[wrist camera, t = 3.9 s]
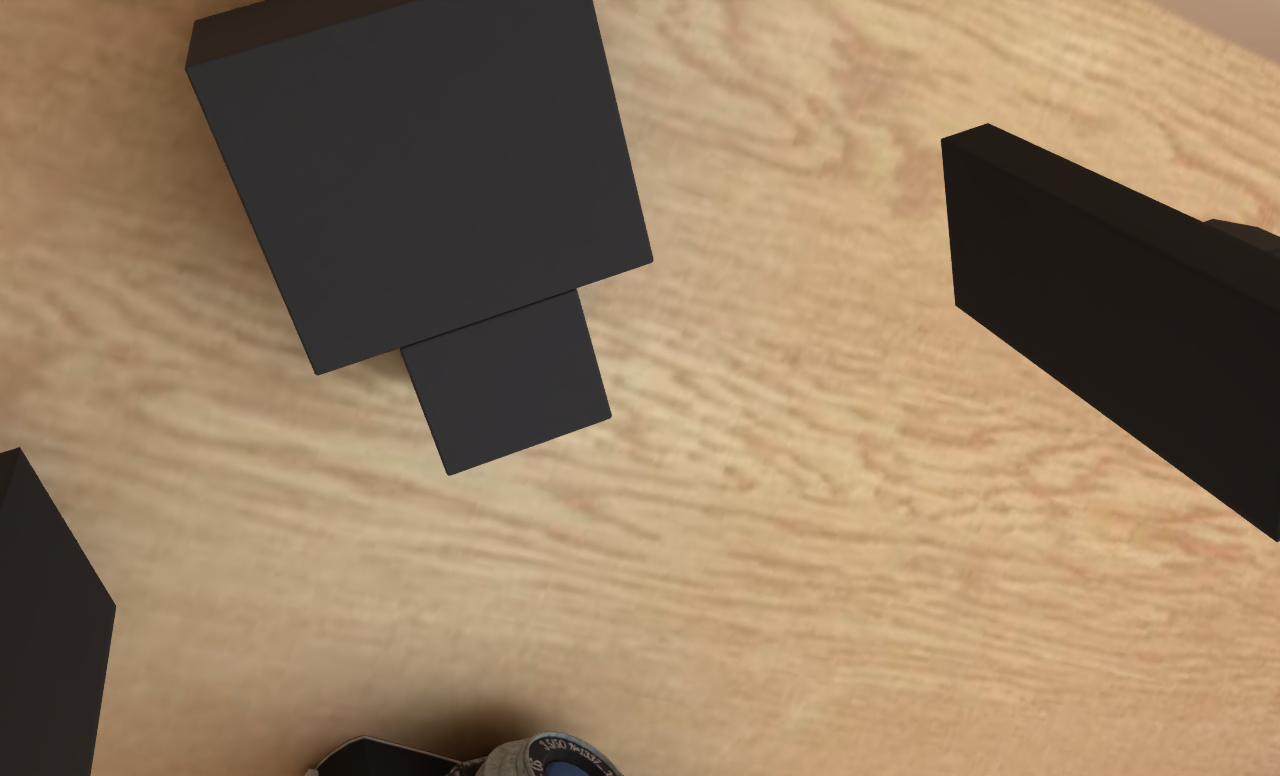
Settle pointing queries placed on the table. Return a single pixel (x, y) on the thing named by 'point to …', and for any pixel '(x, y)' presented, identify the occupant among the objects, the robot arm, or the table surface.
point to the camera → (513, 772)
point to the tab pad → (433, 195)
